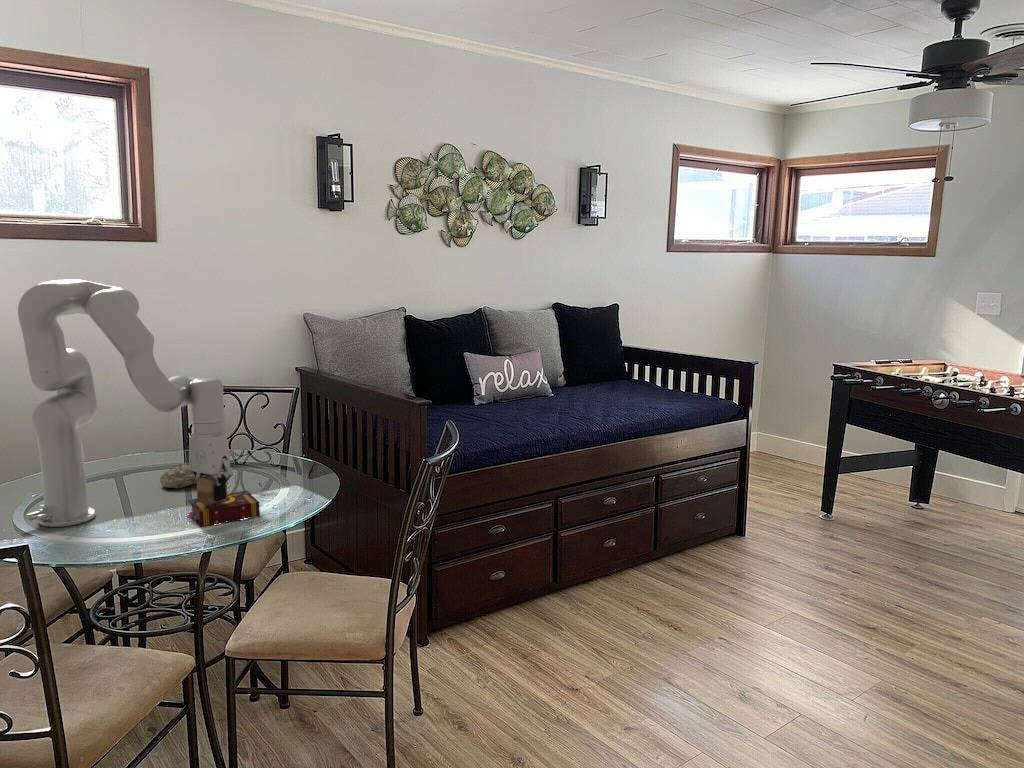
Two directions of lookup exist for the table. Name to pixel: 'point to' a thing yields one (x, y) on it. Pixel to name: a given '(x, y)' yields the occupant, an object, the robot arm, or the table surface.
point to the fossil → (178, 477)
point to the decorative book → (225, 509)
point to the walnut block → (207, 489)
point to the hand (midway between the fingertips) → (212, 496)
